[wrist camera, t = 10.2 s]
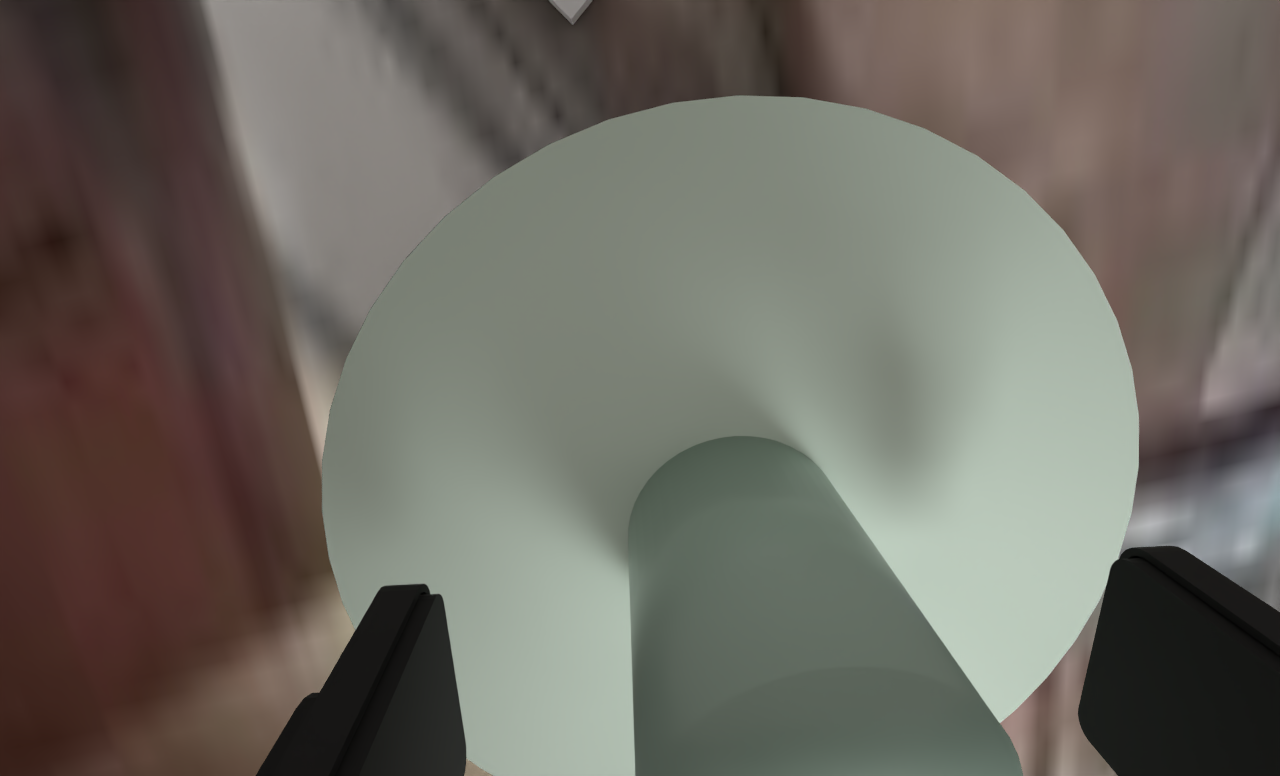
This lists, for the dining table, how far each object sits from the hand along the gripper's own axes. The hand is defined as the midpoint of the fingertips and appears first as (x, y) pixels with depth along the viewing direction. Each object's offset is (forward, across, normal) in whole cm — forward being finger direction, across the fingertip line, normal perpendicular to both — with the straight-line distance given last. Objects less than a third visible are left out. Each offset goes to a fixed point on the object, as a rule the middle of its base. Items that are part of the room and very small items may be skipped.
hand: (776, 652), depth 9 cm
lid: (+4, 0, 0) cm, 4 cm away
